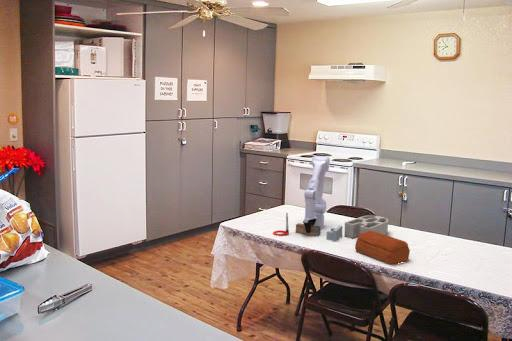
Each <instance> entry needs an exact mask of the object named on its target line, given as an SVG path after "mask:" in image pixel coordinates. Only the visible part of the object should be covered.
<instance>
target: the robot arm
mask: <svg viewBox="0 0 512 341" xmlns="http://www.w3.org/2000/svg"><path fill="white" fill-rule="evenodd" d="M330 163H331V162H330V158H329V156H315V155H314V156H312V159H311V165H312V169H313V171H312V175H311V176H312V177H311V178H310V179H309V181H308V185H307V188H306V189H305V190H304V195H303V196H304V202H305V206H304V208H305V211H304V212H305V215H304V219H303V220H302V224H304V225H305V229H306V233H310V230H311V226H312V225H314V226H321V230H322V229H324V228H325V227H326V225H325V214H326V211H327V203H326V200H325V199H324V198H323V193H324V187H325V186H324V184H325V177H326V173H327V172H329V171H330V170H329V168H330Z"/></svg>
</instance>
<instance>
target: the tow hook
mask: <svg viewBox="0 0 512 341" xmlns="http://www.w3.org/2000/svg"><path fill="white" fill-rule="evenodd" d="M289 229H290V228H289V215H288V212H285V230H283V229H282V230H281V229H280V230H274V231H273V232H272V234H273V235H274V236H277V235H278V237H279V236H289V234H290V231H289Z"/></svg>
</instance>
